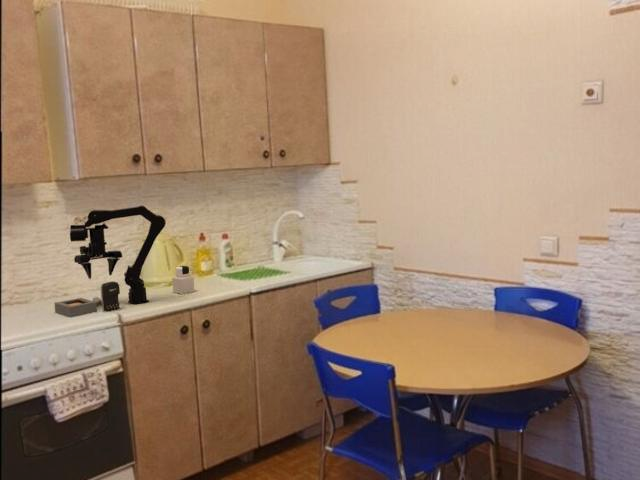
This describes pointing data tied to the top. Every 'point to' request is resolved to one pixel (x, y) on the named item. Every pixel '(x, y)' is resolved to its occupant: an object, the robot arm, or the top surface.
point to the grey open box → (75, 307)
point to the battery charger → (110, 296)
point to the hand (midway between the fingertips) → (100, 277)
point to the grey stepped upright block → (183, 280)
